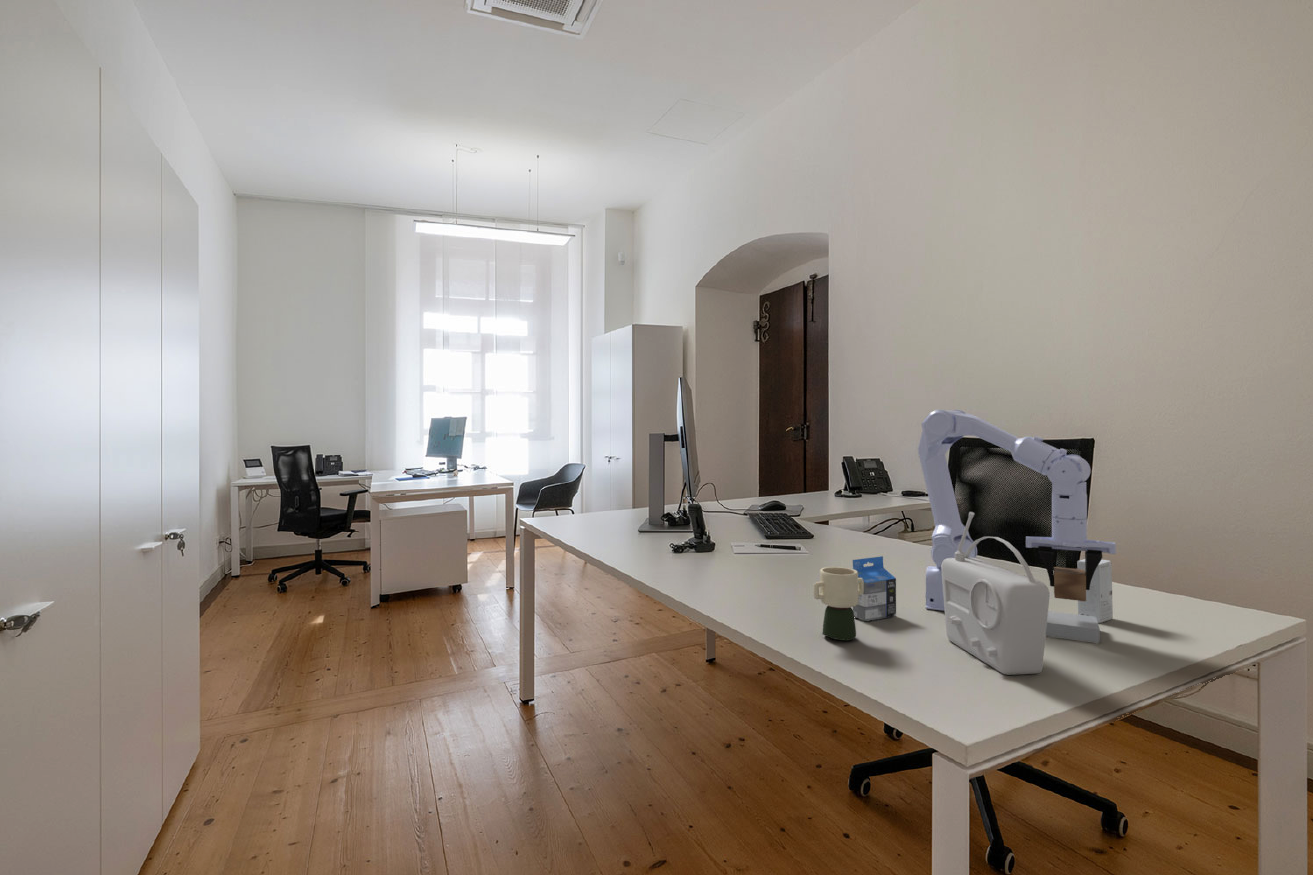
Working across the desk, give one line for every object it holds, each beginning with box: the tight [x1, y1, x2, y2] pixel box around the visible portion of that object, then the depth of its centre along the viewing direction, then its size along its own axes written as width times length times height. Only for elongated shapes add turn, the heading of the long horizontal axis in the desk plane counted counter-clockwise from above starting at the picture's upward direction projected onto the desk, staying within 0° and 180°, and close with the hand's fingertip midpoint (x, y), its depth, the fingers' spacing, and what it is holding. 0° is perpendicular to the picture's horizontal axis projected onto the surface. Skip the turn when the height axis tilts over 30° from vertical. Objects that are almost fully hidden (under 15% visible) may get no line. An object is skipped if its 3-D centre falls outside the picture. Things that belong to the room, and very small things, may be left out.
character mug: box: [813, 566, 864, 641], centre depth 119 cm, size 11×7×13 cm, turn 108°
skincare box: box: [1076, 558, 1114, 624], centre depth 130 cm, size 6×4×12 cm
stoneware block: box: [1046, 610, 1101, 644], centre depth 121 cm, size 9×9×3 cm
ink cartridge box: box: [852, 555, 897, 622], centre depth 132 cm, size 9×4×12 cm, turn 115°
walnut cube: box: [1053, 566, 1086, 602], centre depth 121 cm, size 5×5×5 cm
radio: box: [941, 511, 1051, 676], centre depth 109 cm, size 22×8×25 cm, turn 4°
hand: (1069, 587), depth 121 cm, fingers closed on walnut cube, 5 cm apart
